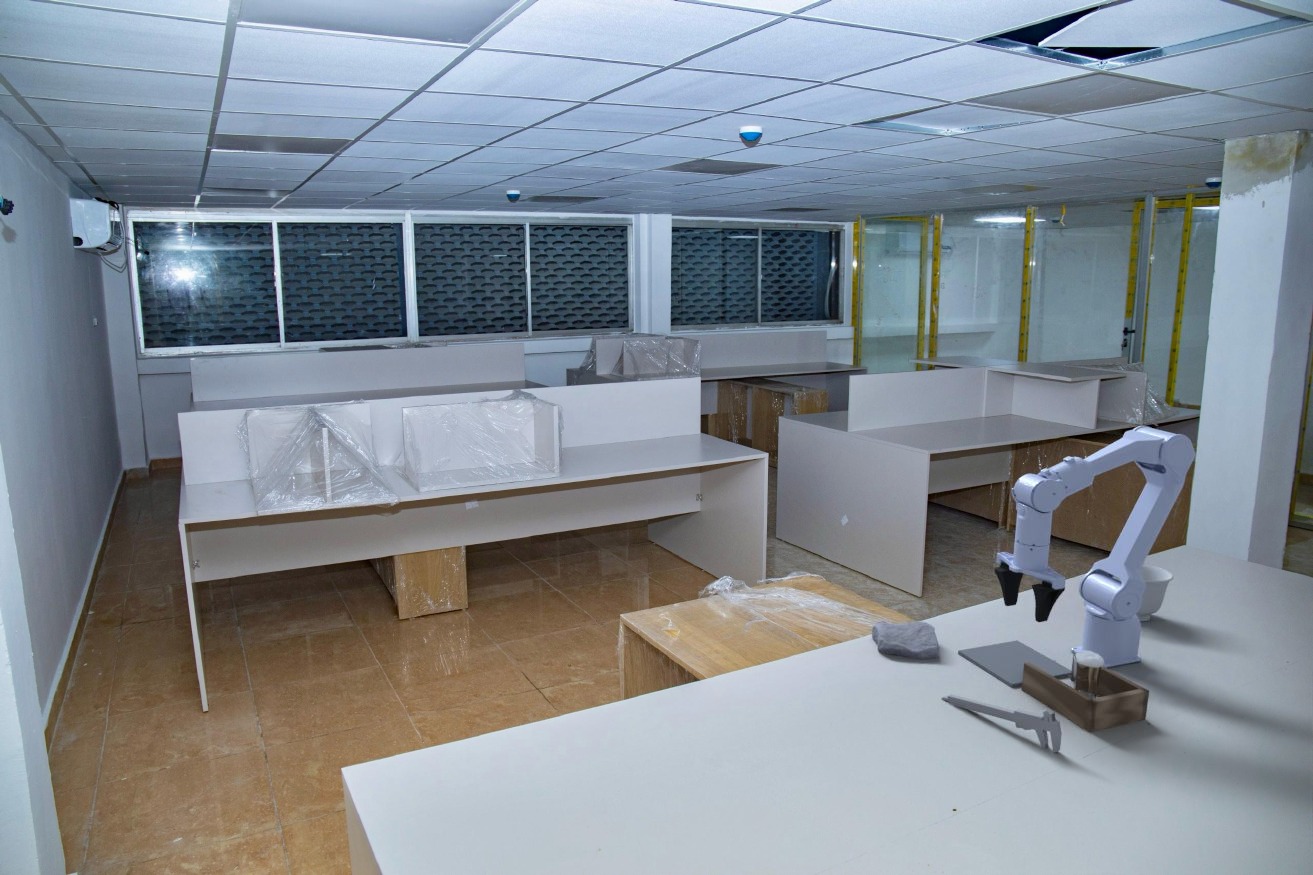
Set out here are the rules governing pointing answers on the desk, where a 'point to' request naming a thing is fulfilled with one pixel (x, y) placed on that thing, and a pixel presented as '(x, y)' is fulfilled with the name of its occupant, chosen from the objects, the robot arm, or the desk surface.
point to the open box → (1110, 709)
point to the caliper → (1017, 719)
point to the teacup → (1152, 589)
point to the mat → (1012, 661)
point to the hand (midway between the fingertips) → (1025, 612)
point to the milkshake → (1087, 672)
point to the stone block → (906, 639)
